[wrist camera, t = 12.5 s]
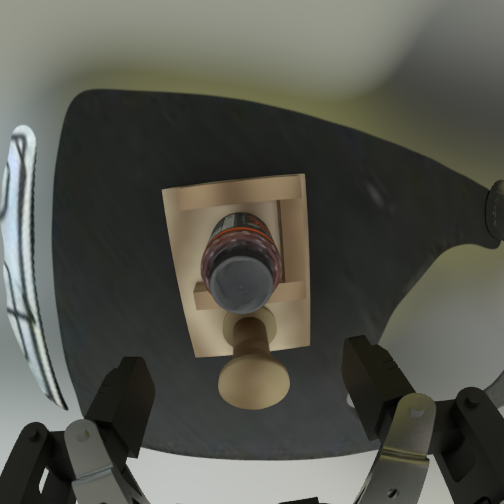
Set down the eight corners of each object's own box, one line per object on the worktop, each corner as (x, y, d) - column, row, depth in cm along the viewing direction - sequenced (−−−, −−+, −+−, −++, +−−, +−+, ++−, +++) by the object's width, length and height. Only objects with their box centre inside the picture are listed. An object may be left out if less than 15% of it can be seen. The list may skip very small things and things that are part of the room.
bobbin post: (274, 299, 30) (289, 357, 21) (277, 343, 32) (290, 405, 22) (219, 305, 30) (212, 365, 21) (226, 348, 32) (224, 411, 22)
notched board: (302, 173, 27) (311, 175, 24) (308, 340, 33) (314, 357, 30) (164, 188, 27) (154, 192, 24) (196, 352, 33) (193, 370, 30)
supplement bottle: (283, 238, 28) (309, 285, 17) (242, 279, 29) (245, 343, 18) (239, 197, 27) (239, 220, 16) (198, 241, 28) (175, 290, 17)
